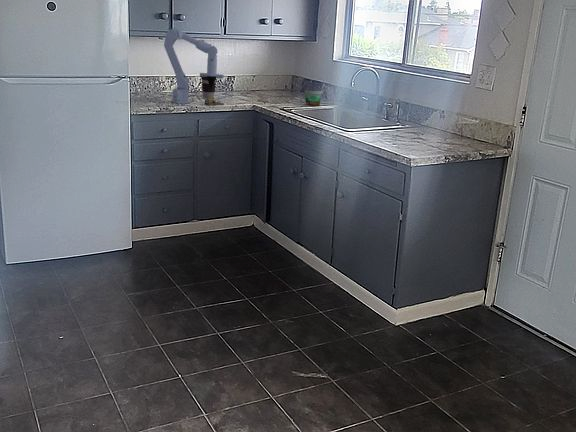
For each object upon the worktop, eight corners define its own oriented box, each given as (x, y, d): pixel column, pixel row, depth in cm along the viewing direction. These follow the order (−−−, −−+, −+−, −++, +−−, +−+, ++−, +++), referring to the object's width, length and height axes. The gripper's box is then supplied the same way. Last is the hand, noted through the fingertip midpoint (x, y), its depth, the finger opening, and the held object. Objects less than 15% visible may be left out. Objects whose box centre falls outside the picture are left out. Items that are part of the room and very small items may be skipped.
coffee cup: (205, 99, 417) (206, 75, 412) (197, 96, 424) (198, 73, 419) (218, 98, 423) (219, 75, 418) (210, 96, 430) (211, 73, 425)
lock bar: (214, 101, 402) (214, 97, 401) (216, 102, 400) (216, 98, 399) (206, 101, 399) (206, 97, 398) (208, 102, 397) (208, 98, 396)
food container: (306, 106, 419) (307, 90, 415) (303, 104, 424) (304, 89, 421) (324, 106, 422) (325, 91, 419) (321, 105, 427) (322, 90, 424)
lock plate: (209, 105, 395) (209, 100, 394) (204, 104, 399) (204, 98, 398) (223, 104, 402) (224, 99, 401) (218, 103, 406) (219, 97, 405)
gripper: (198, 66, 390) (198, 89, 394) (222, 68, 389) (221, 91, 393) (201, 65, 396) (200, 87, 401) (224, 67, 395) (223, 89, 400)
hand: (211, 89), depth 397 cm, fingers closed
